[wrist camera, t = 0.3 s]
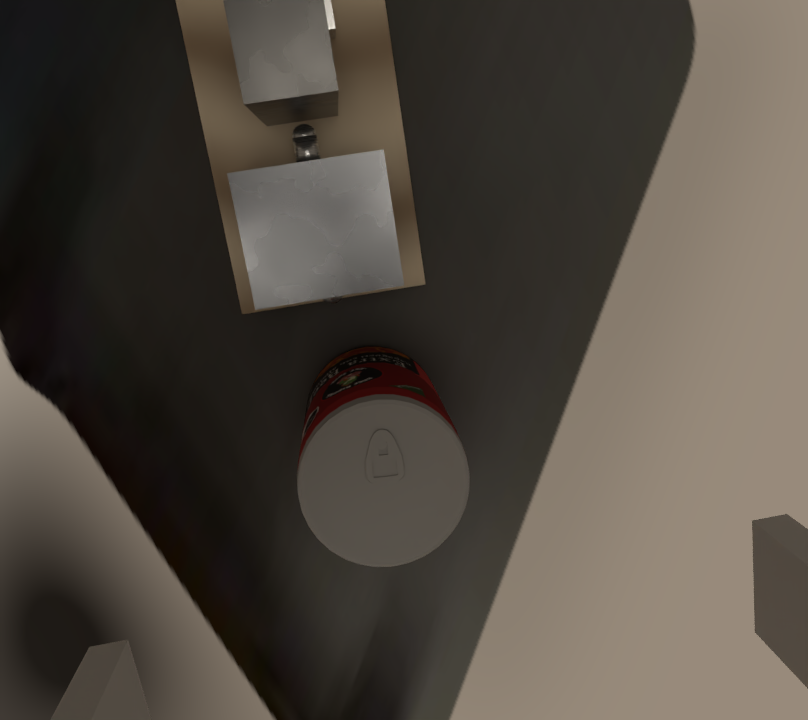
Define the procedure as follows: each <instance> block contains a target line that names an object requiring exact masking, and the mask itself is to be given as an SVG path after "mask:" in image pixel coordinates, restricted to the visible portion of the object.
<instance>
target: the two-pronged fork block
mask: <svg viewBox="0 0 808 720" xmlns="http://www.w3.org/2000/svg"><path fill="white" fill-rule="evenodd" d="M223 2H224V7H225V12H226V17H227V22H228V27H229V32H230V38H231V43H232V48H233V53H234V58H235V63H236V68H237V73H238V78H239V83H240V88H241V93H242V99H243V104H244V105H245V106H246V107H247V108H248V109H249V110H250V111H251V112H252V113H253V114H254V115H256V116H257V117H258V118H259V119H260V120H261V121H262V122H263V123H264V124H265V125H266V126H273V125H280V124H286V123H293V122H300V121H306V120H313V119H320V118H327V117H333V116H338V94H339V90H338V84H337V78H336V72H335V66H334V60H333V53H332V47H331V41H330V38H336V28H335V22H334V16H333V10H332V3H331V0H223ZM292 141H293V146H294V152H295V157H296V163H297V162H304V161H311V160H317V159H321V156H320V150H319V145H318V139H317V134H316V131H315V130H314V128H313V127H312V126H310V125H308V124H300V125H298V126H297V127H295V129H294V130H293V133H292ZM342 297H343V296H337V297H331V298H325V299H323V300H324V301H325V302H327V303H332V304H333V303H337V302H339V301H340V300H341V299H342Z"/></svg>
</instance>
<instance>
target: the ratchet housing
mask: <svg viewBox="0 0 808 720" xmlns="http://www.w3.org/2000/svg"><path fill="white" fill-rule="evenodd" d="M227 175H228V180H229V185H230V190H231V194H232V199H233V204H234V209H235V214H236V219H237V223H238V228H239V233H240V238H241V243H242V248H243V252H244V257H245V262H246V267H247V272H248V276H249V281H250V286H251V291H252V296H253V301H254V305H255V310H258V309H264V308H270V307H276V306H282V305H288V304H294V303H300V302H307V301H313V300H319V299H325V298H331V297H337V296H343V295H349V294H355V293H361V292H368V291H374V290H380V289H386V288H392V287H398V286H404V281H403V274H402V267H401V261H400V254H399V248H398V241H397V234H396V228H395V221H394V214H393V208H392V201H391V195H390V188H389V181H388V175H387V168H386V162H385V155H384V149H383V150H376V151H369V152H363V153H356V154H350V155H343V156H337V157H330V158H324V159H317V160H311V161H304V162H297V163H291V164H284V165H278V166H271V167H265V168H258V169H252V170H245V171H238V172H232V173H227Z"/></svg>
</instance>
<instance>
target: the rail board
mask: <svg viewBox="0 0 808 720" xmlns="http://www.w3.org/2000/svg"><path fill="white" fill-rule="evenodd" d="M331 3H332V10H333V16H334V22H335V28H336V38H330V41H331V47H332V53H333V60H334V66H335V72H336V78H337V84H338V90H339V94H338V116H333V117H327V118H320V119H313V120H306V121H300V122H293V123H286V124H280V125H273V126H266V125H265V124H264V123H263V122H262V121H261V120H260V119H259V118H258V117H257V116H256V115H254V114H253V113H252V112H251V111H250V110H249V109H248V108H247V107H246V106H245V105H244V104H243V99H242V93H241V88H240V83H239V78H238V73H237V68H236V63H235V58H234V53H233V48H232V43H231V38H230V32H229V27H228V22H227V17H226V12H225V7H224V2H223V0H176V5H177V10H178V14H179V19H180V24H181V28H182V33H183V38H184V43H185V47H186V52H187V57H188V61H189V66H190V71H191V75H192V80H193V85H194V90H195V94H196V99H197V104H198V108H199V113H200V118H201V123H202V127H203V132H204V137H205V141H206V146H207V151H208V155H209V160H210V165H211V170H212V174H213V179H214V184H215V188H216V193H217V198H218V203H219V207H220V212H221V217H222V221H223V226H224V231H225V236H226V240H227V245H228V250H229V254H230V259H231V264H232V268H233V273H234V278H235V283H236V287H237V292H238V297H239V301H240V306H241V311H242V314H248V313H254V312H260V311H266V310H272V309H278V308H284V307H290V306H297V305H303V304H309V303H315V302H321V301H324V300H323V299H319V300H313V301H307V302H300V303H294V304H288V305H282V306H276V307H270V308H264V309H258V310H255V305H254V301H253V296H252V291H251V286H250V281H249V276H248V272H247V267H246V262H245V257H244V252H243V248H242V243H241V238H240V233H239V228H238V223H237V219H236V214H235V209H234V204H233V199H232V194H231V190H230V185H229V180H228V175H227V173H232V172H238V171H245V170H252V169H258V168H265V167H271V166H278V165H284V164H291V163H296V157H295V152H294V146H293V141H292V133H293V130H294V129H295V127H297V126H298V125H300V124H308V125H310V126H312V127H313V128H314V130H315V131H316V134H317V139H318V145H319V150H320V156H321V159H324V158H330V157H337V156H343V155H350V154H356V153H363V152H369V151H376V150H383V149H384V155H385V162H386V168H387V175H388V181H389V188H390V195H391V201H392V208H393V214H394V221H395V228H396V234H397V241H398V248H399V254H400V261H401V267H402V274H403V281H404V286H398V287H392V288H386V289H380V290H374V291H368V292H361V293H355V294H349V295H343V297H342V298H345V297H351V296H358V295H364V294H370V293H376V292H382V291H388V290H394V289H400V288H406V287H412V286H419V285H425V277H424V270H423V263H422V256H421V249H420V242H419V235H418V228H417V221H416V214H415V207H414V200H413V193H412V186H411V179H410V172H409V165H408V158H407V151H406V144H405V137H404V130H403V124H402V117H401V110H400V103H399V96H398V89H397V82H396V75H395V68H394V61H393V54H392V47H391V40H390V33H389V26H388V19H387V12H386V5H385V0H331Z"/></svg>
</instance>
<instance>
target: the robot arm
mask: <svg viewBox="0 0 808 720" xmlns="http://www.w3.org/2000/svg"><path fill="white" fill-rule="evenodd" d="M752 530H753V570H754V571H753V572H754V610H755V611H754V612H755V633H756V634H757V635H758V636H759V637H760V638H761V639H762V640H763V641H764V642H765V643H766V644H767V645H768V647H769V648H770V649H771V650H772V651H773V652H774V653H775V654H776V655H777V656H778V657H779V658H780V659H781V660H782V661H783V663H784V664H785V665H786V666H787V667H788V668H789V669H790V670H791V671H792V672H793V673H794V674H795V675H796V676H797V677H798V678H799V679H800V681H801V682H802V683H803V684H804V685H805V686H806V687H807V688H808V529H807V528H805V527H804V526H802V525H801V524H800V523H798V522H797V521H796V520H794V519H793V518H791V517H790V516H789V515H787V514H785V515H780V516H775V517H770V518H764V519H759V520H753V521H752ZM51 720H152V719H151V716H150V713H149V709H148V706H147V703H146V699H145V696H144V692H143V689H142V686H141V682H140V679H139V676H138V672H137V669H136V665H135V662H134V659H133V655H132V652H131V649H130V645H129V642H128V640H124V641H119V642H114V643H108V644H103V645H98V646H92V647H89V649H88V651H87V653H86V654H85V656H84V658H83V660H82V662H81V664H80V666H79V668H78V669H77V671H76V673H75V675H74V677H73V679H72V681H71V683H70V684H69V687H68V688H67V690H66V692H65V694H64V696H63V697H62V699H61V701H60V703H59V705H58V707H57V709H56V711H55V712H54V714H53V716H52V718H51Z"/></svg>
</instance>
